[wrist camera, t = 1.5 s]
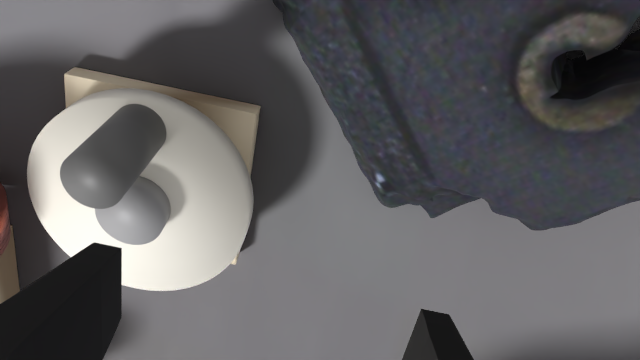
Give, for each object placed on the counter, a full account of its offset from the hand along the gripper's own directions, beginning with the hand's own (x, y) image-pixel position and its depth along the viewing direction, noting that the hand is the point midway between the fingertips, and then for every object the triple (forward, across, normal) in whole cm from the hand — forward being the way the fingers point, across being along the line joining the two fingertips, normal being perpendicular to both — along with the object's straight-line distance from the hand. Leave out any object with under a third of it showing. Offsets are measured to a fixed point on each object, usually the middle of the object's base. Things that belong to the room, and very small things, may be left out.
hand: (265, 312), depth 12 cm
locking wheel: (+8, +5, +3) cm, 10 cm away
